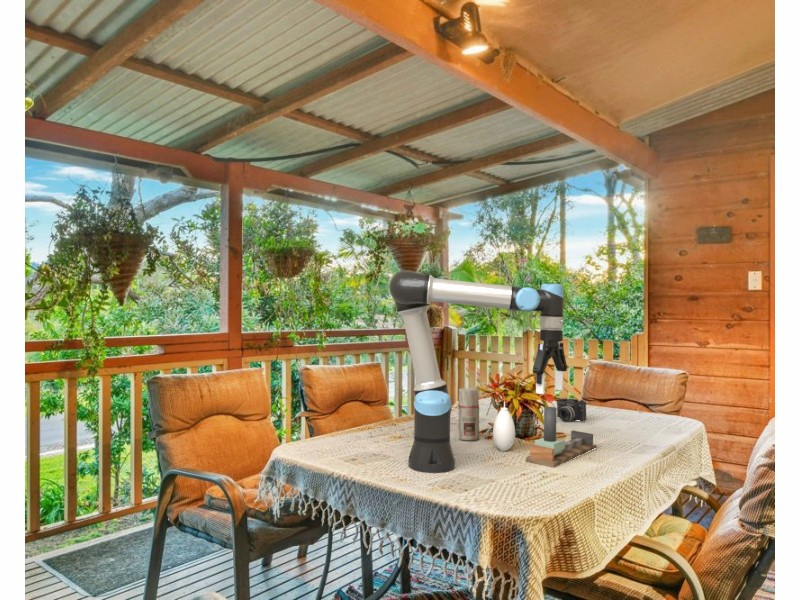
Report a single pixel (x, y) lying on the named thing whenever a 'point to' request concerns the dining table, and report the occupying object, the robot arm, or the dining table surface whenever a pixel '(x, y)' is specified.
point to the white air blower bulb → (504, 430)
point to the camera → (571, 409)
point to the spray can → (468, 414)
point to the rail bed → (563, 456)
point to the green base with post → (550, 432)
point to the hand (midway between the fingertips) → (549, 391)
